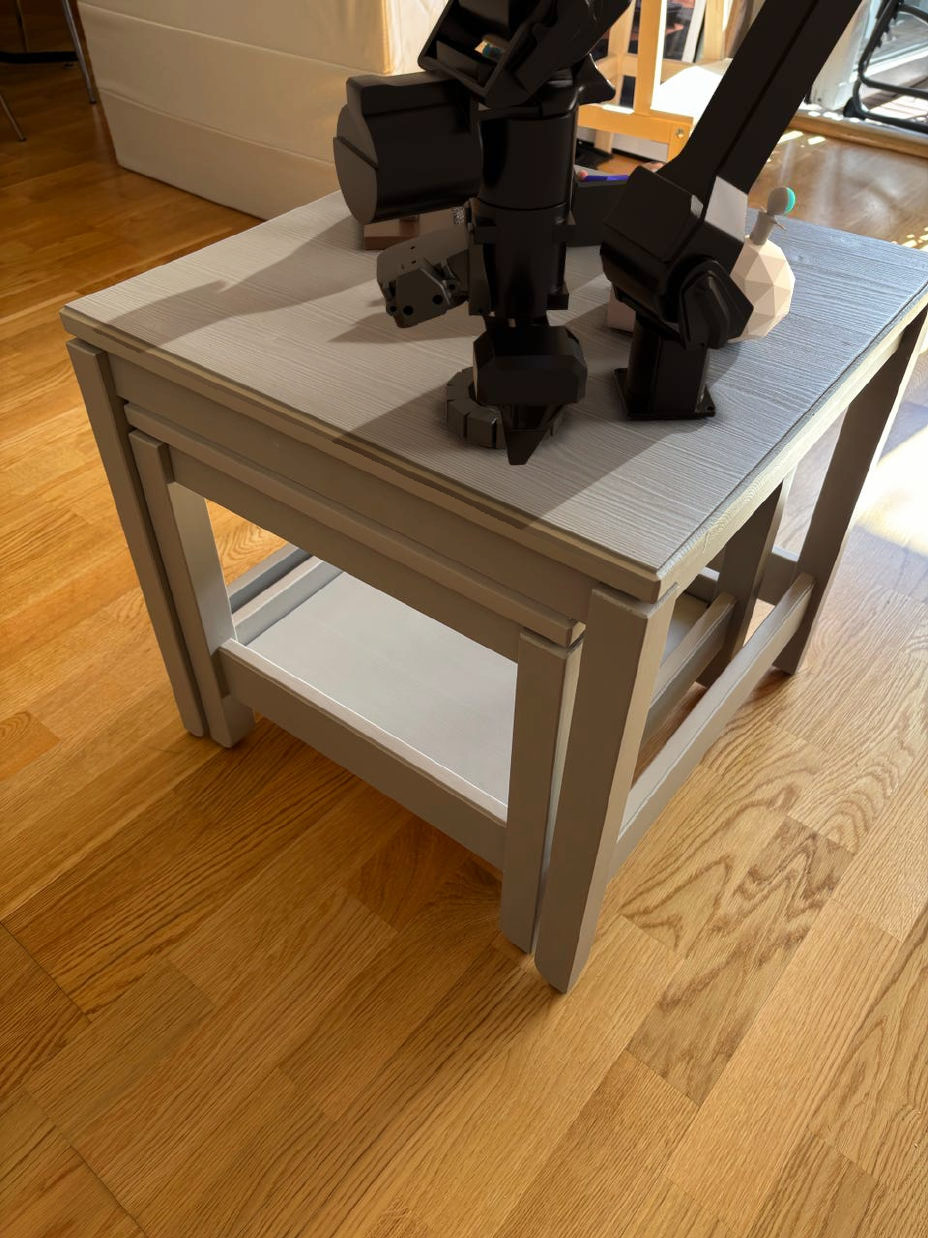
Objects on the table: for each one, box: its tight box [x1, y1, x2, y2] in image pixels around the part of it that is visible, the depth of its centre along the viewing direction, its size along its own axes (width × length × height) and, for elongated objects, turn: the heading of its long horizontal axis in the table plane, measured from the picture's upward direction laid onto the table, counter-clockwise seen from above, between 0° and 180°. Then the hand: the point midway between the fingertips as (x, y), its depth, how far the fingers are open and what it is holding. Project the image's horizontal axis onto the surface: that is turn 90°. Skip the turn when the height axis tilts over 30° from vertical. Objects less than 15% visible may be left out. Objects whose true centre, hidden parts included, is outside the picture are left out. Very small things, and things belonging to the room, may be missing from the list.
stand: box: [363, 208, 456, 250], centre depth 90 cm, size 8×8×6 cm
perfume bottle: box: [727, 185, 796, 344], centre depth 74 cm, size 8×8×12 cm
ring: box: [444, 365, 565, 449], centre depth 69 cm, size 8×8×2 cm
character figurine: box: [567, 161, 666, 248], centre depth 89 cm, size 8×7×15 cm
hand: (509, 424), depth 66 cm, fingers open, 9 cm apart
